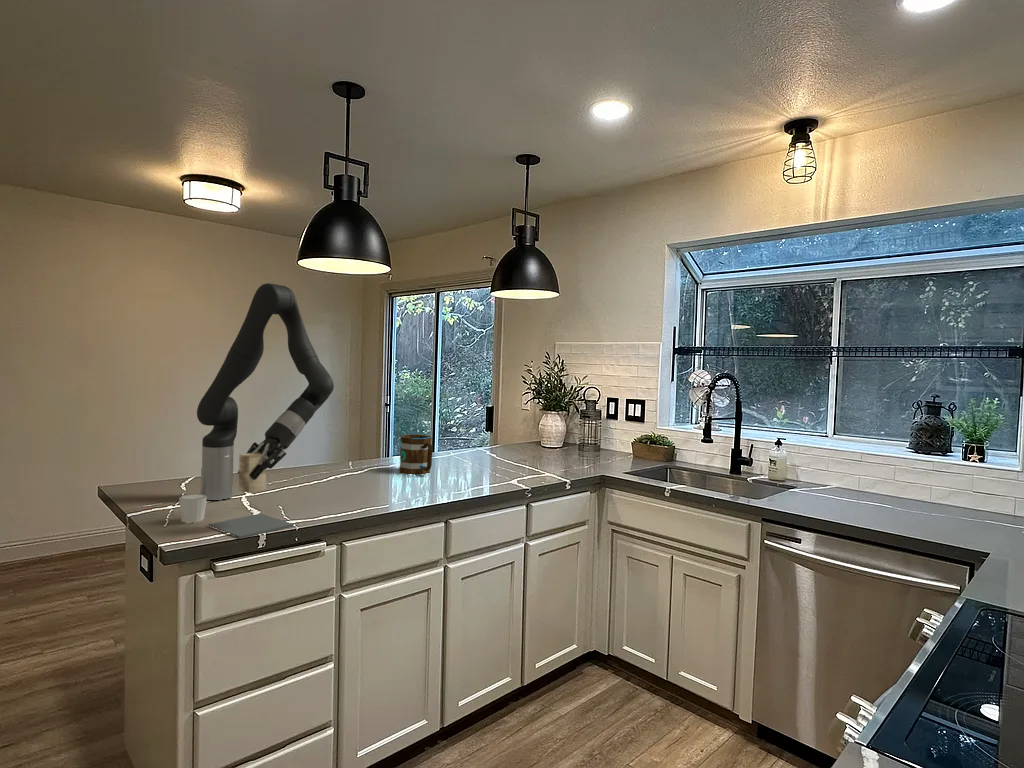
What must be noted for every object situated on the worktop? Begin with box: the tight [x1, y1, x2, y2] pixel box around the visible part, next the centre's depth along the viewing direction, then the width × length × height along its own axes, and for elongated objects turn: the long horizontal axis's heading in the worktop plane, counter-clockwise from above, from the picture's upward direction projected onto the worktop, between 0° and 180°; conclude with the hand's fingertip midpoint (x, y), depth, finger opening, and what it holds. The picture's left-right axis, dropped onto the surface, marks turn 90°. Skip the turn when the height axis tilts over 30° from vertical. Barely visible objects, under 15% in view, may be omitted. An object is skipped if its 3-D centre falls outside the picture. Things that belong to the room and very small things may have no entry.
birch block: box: [238, 452, 267, 494], centre depth 167 cm, size 5×5×10 cm
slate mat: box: [207, 513, 294, 540], centre depth 168 cm, size 16×16×1 cm
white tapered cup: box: [178, 493, 207, 523], centre depth 170 cm, size 7×7×7 cm
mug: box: [398, 433, 434, 476], centre depth 251 cm, size 20×14×15 cm
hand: (246, 476), depth 166 cm, fingers closed on birch block, 5 cm apart
